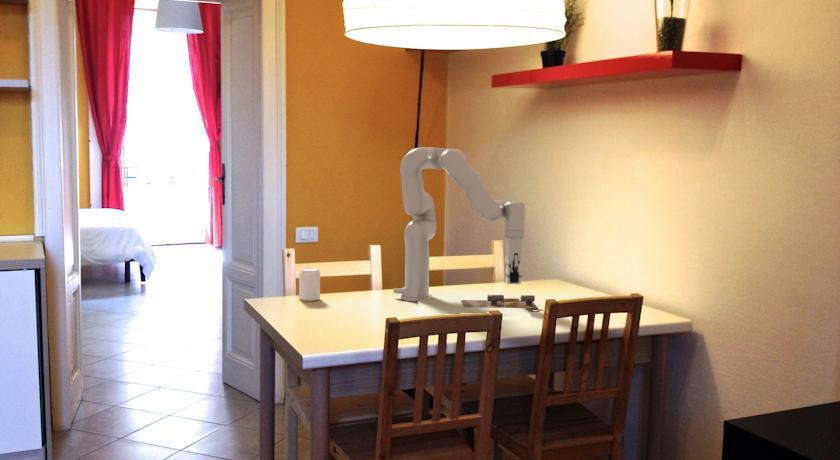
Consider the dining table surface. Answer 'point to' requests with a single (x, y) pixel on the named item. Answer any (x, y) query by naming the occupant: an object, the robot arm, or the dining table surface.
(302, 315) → the dining table surface
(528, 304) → the rig
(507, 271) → the coupler
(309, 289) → the beverage can
